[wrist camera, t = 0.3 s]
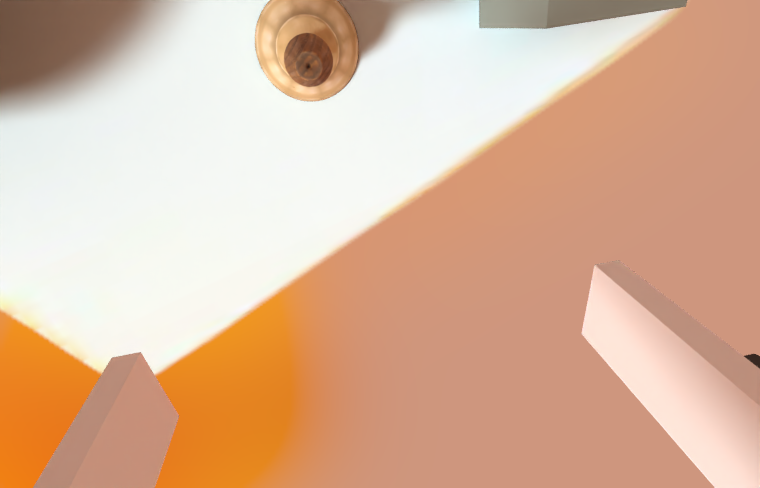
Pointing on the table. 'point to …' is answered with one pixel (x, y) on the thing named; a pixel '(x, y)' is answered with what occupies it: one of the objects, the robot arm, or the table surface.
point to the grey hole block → (562, 11)
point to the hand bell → (307, 47)
